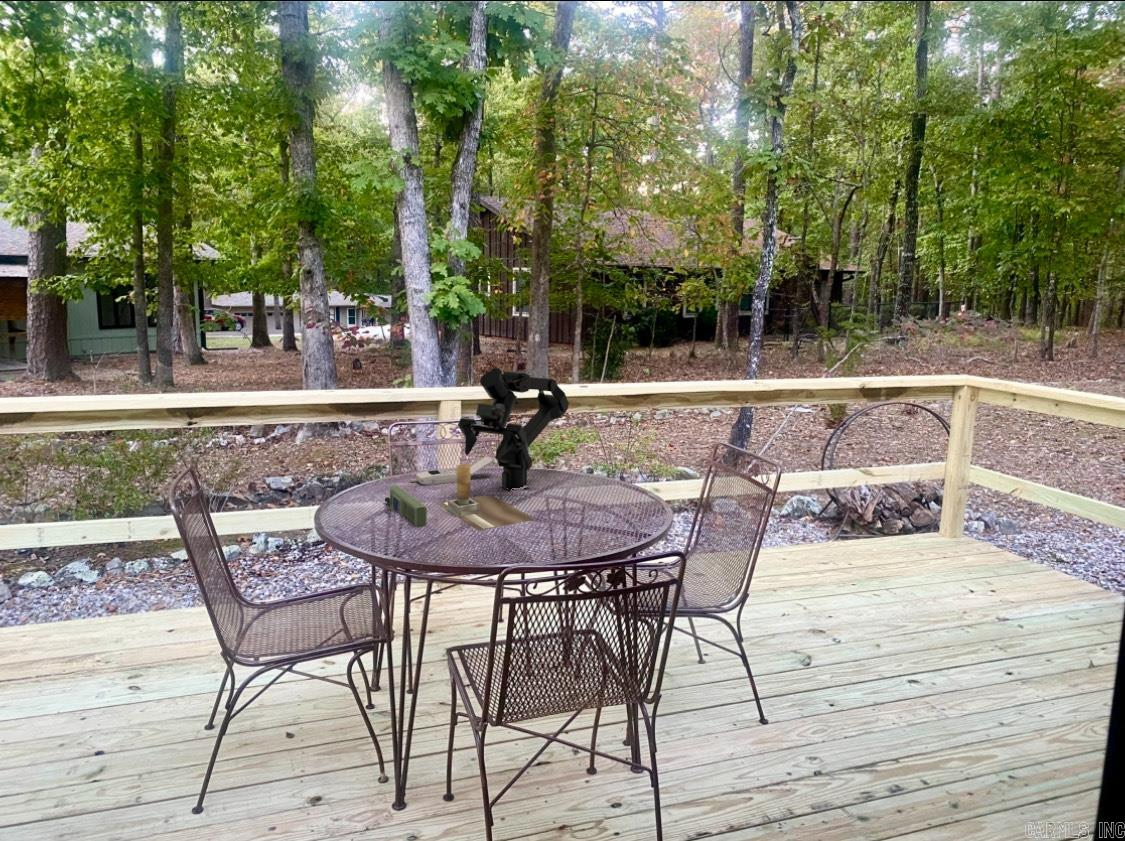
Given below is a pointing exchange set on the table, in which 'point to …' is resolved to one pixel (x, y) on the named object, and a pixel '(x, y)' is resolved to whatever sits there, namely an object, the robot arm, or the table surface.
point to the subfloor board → (486, 512)
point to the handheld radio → (407, 506)
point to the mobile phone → (448, 473)
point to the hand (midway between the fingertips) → (481, 456)
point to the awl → (463, 484)
